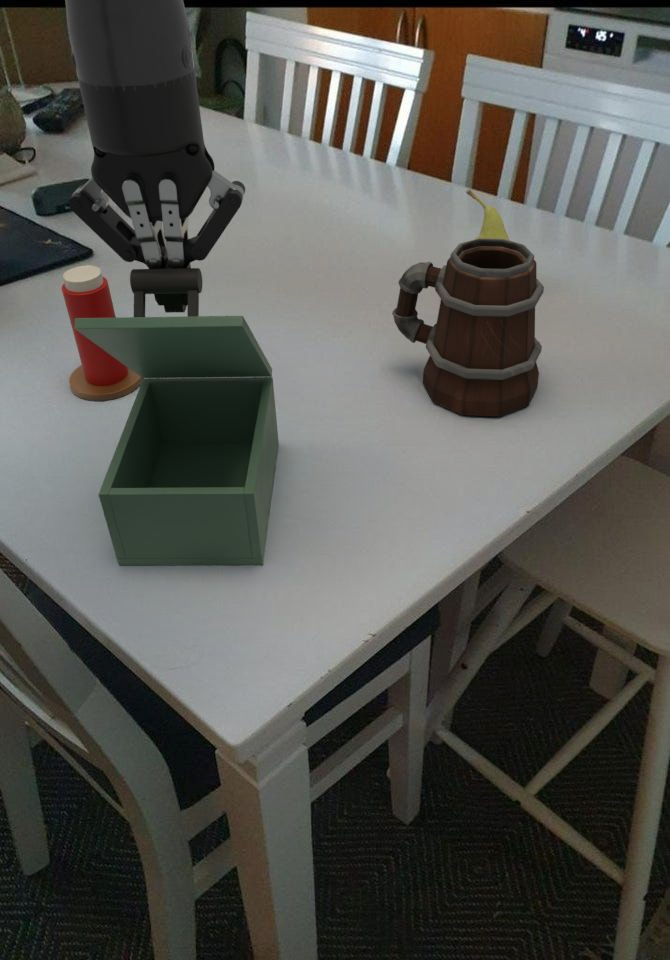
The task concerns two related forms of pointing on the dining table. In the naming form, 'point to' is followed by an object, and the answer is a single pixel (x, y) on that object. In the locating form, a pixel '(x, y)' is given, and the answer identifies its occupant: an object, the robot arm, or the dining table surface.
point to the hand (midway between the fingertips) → (176, 307)
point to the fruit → (490, 221)
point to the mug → (477, 326)
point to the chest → (194, 473)
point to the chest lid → (177, 334)
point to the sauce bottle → (91, 300)
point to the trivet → (103, 392)
